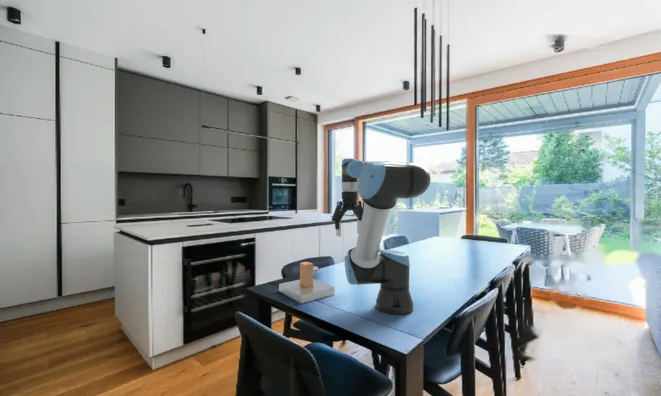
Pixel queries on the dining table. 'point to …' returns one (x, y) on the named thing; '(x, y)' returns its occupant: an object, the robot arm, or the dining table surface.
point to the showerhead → (315, 269)
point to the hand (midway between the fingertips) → (349, 234)
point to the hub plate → (306, 290)
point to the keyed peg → (306, 274)
